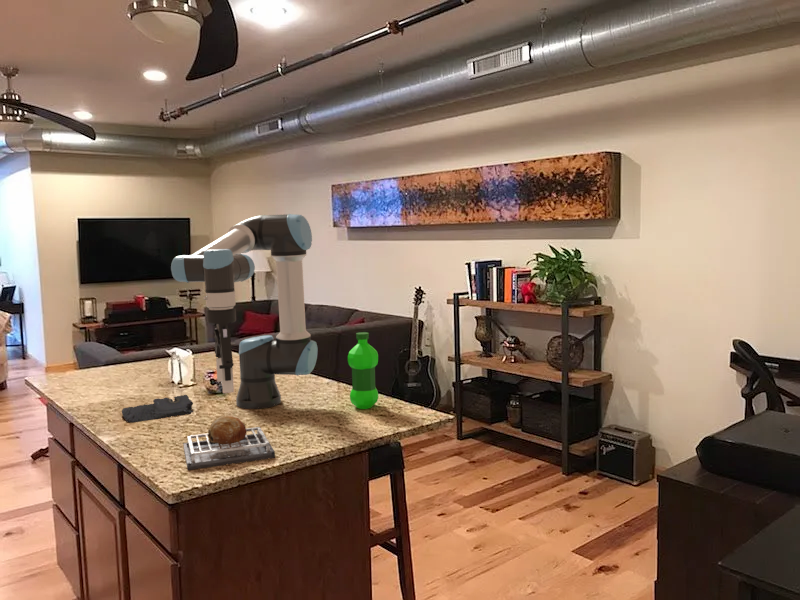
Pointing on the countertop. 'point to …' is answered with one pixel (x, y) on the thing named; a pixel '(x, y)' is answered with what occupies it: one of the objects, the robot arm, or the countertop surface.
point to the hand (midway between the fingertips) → (225, 386)
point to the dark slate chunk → (158, 409)
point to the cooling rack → (227, 450)
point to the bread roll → (226, 430)
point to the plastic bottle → (363, 372)
